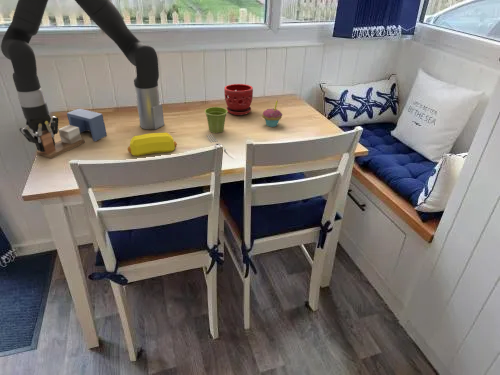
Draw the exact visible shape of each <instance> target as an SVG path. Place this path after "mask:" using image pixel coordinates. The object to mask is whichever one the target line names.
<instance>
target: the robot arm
mask: <svg viewBox="0 0 500 375" xmlns="http://www.w3.org/2000/svg"><path fill="white" fill-rule="evenodd" d="M74 1H75V2H76V3H77V5H78V6H79V7H80V8H81V9H82V11H83V12H85V14H86V15H87V17H89V19H91V21H92V22H94V24H95V25H96V26H97V27H98V28H100V30H101V31H102V32H103V33H105V34H106V35H107V37H108V38H109V39H111V40H112V41H113V42H114V44H116V45H117V47H118V48H119V50H120V51H121V52H122V54H123V55H124V57H125V58H126V59H127V60H128V61H129V63H131V64H132V65H133V66H134V67H135V70H136V77H134V78H133V84H134V85H133V86H134V93H135V99H136V105H137V112H138V113H137V114H138V118H139V125H140V128H142V129H144V130H158V129H159V128H161V127H163V126H165V120H164V109H163V104H162V103H161V101H160V100H161V99H160V92H159V79H160V74H159V73H160V70H159V58H158V54H157V51H156V49H155V48H154V47H153V46H151V45H149V44H146V43H144V42H142V41H141V40H139V39H138V38H137V37H136V35H134V34H133V32H132V31H131V30H130V29H129V27H128V26H127V24H126V22H125V20H124V18H123V17H122V14H121V12H120V10H118V8H117V6H116V5H115V4H114V3H113V2H112V1H111V0H74ZM48 2H49V0H17V4H16V6H15V9H14V13H13V16H12V21H11V23H10V25H9V26H8V28H7V29H6V31H5V33H4V35H3V38H2V40H1V44H0V49H1V53H2V54H3V56H4V57H5V58H6V59H7V60H10V62H11V66H12V69H13V73H12V80H13V83H14V86H15V89H16V93H17V99H18V101H19V104H20V108H21V111H22V113H23V114H22V115H23V118H24V119H25V120H26V121H25V124H26V125H25V126H24V127H20V128H19V131H20V133H21V134H22V135H23V136H24V138H25V139H26V140H27V141H28V142H29V143H32V144H35V146H36V151H40V152H44V151H45V150H44V147H43V144H42V142H41V136H42V131H45V132H49V133H51V136H52V139H53V143H54V146H55V143H56V141H55V138H54V137H55V135H57V134H59V131H58V129H59V117H57V116H54V115H53V116H50V112H49V111H50V110H49V108H48V105H47V101H46V98H45V95H44V94H45V93H44V91H43V89H42V87H41V83H40V80H39V77H38V72H37V71H38V69H37V68H38V67H37V61H36V55H35V52H34V49H33V48H32V46H31V45H30V41H31V39H32V37H33V36H36V35H37V34H38V32H39V30H40V26H41V24H42V20H43V17H44V14H45V11H46V8H47V5H48Z"/></svg>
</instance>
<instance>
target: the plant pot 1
mask: <svg viewBox="0 0 500 375" xmlns="http://www.w3.org/2000/svg"><path fill="white" fill-rule="evenodd" d="M204 113H205V115H206V120H207V124H208V130H209V132H210V133H211V134H218V133H222V132H224V130H225V122H226V116H227V113H229V112H228V111H227V108H225V107H222V106H211V107H208V108H206V109H204Z"/></svg>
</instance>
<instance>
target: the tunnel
mask: <svg viewBox="0 0 500 375" xmlns="http://www.w3.org/2000/svg"><path fill="white" fill-rule="evenodd" d="M66 116H67V119H68V123H69V124H68V125H72V126H76V127H79V131H80V134H81V133H83V132H85V131H87V132H90V133H91V138H92V141H93V142H97V141H98V140H101V139H103V138H105V137H107V134H108V132H107V128H106V124H105V121H104V115H103V113H100V112H96V111H93V110H88V109H83V108H76V109H73V110H72V111H71V110H70V111H68V112H67V113H66Z"/></svg>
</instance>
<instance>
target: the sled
mask: <svg viewBox="0 0 500 375" xmlns="http://www.w3.org/2000/svg"><path fill="white" fill-rule="evenodd" d="M58 134H59V138H60V140H59V141H57V142H56V141H55V146H54V143H53V139H52V136H51V133H49V132H45V131H42V136H41V142H42V144H43V147H44V150H45V151H44V152H40V151H38V150H36V151H35V152H36V155H38V156H40V157H44V158H47V159H51V160H52V159H53V158H55V157H57V156H60V155H62V154H64V153H66V152H68V151H70V150H72V149H74V148H77V147H79V146H80V145H82V144H85V141H84V140H85V139H82V136H81V133H80V131H79V127H76V126H72V125H70V124H68V125H67V124H66V125H65V126H63V127H61V128H58Z"/></svg>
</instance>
